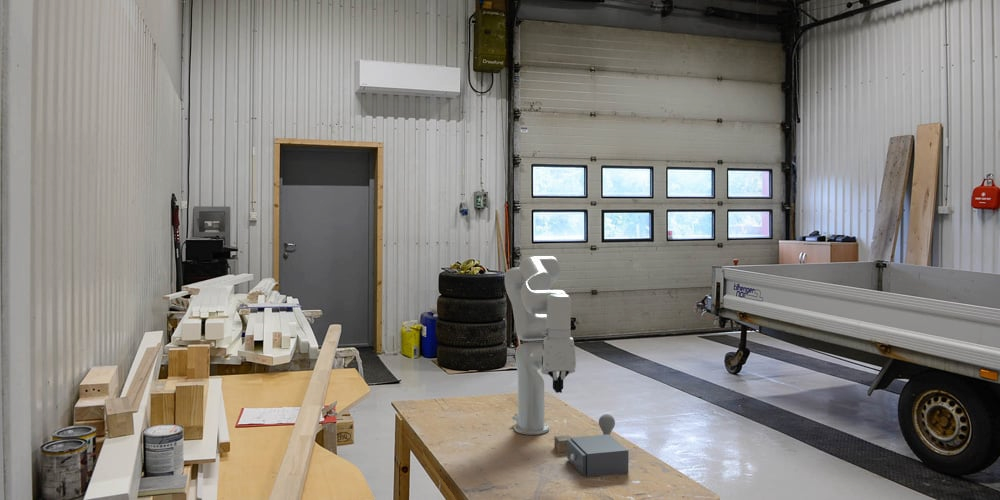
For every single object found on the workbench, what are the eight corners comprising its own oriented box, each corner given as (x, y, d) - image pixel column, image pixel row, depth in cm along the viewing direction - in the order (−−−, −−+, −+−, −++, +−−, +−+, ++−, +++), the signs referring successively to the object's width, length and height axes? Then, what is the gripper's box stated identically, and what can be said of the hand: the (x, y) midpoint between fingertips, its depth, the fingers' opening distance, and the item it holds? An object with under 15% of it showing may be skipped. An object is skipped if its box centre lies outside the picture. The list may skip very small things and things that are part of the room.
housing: (570, 459, 204) (570, 437, 204) (609, 455, 207) (609, 434, 206) (587, 477, 189) (587, 453, 189) (628, 473, 192) (628, 450, 192)
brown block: (554, 447, 214) (554, 435, 214) (568, 446, 215) (568, 434, 215) (559, 453, 210) (558, 440, 209) (573, 451, 211) (573, 439, 210)
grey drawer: (564, 458, 203) (563, 439, 203) (604, 454, 206) (604, 436, 206) (579, 475, 189) (579, 455, 189) (623, 471, 192) (623, 451, 192)
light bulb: (602, 447, 215) (602, 417, 214) (596, 441, 220) (596, 412, 220) (617, 445, 216) (617, 415, 216) (610, 440, 222) (610, 411, 221)
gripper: (538, 337, 195) (537, 396, 196) (585, 335, 198) (584, 393, 199) (532, 332, 202) (531, 389, 204) (577, 330, 205) (577, 386, 206)
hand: (557, 391), depth 201 cm, fingers closed
